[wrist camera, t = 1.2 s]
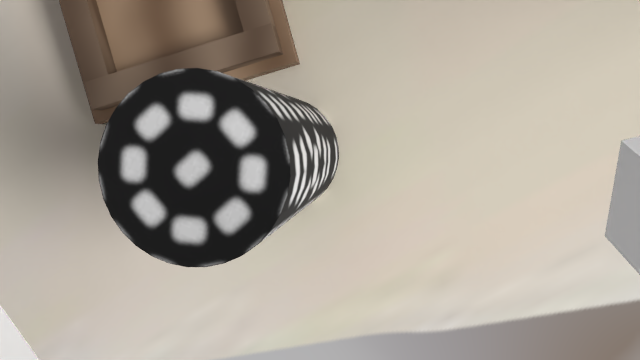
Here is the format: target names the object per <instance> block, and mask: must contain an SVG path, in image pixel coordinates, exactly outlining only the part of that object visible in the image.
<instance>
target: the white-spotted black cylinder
mask: <svg viewBox="0 0 640 360" xmlns="http://www.w3.org/2000/svg"><path fill="white" fill-rule="evenodd" d="M338 159H339V150H338V143H337V138H336V135H335V133H334V130H333V128H332V126H331V124H330V123H329V122H328V120H327V119H326V117H325V116H324V115H323V114H322V113H321V112H320V111H319V110H318V109H316V108H315V107H313V106H311V105H310V104H308V103H306V102H303V101H301V100H298V99H295V98H292V97H290V96H287V95H284V94H281V93H278V92H275V91H272V90H270V89H267V88H264V87H261V86H258V85H255V84H252V83H249V82H247V81H244V80H241V79H238V78H235V77H232V76H229V75H227V74H224V73H221V72H218V71H213V70H207V69H201V68H184V69H175V70H172V71H168V72H164V73H160V74H158V75H156V76H154V77H152V78H150V79H148V80H146V81H144V82H142V83H141V84H140V85H138V86H137V87H136V88H134V89H133V90H132V91H131V92H129V93H128V94H127V95H126V96H125V98H124V99H123V100H122V101H121V102H120V103H119V105H118V106H117V107H116V108H115V110H114V112H113V114H112V115H111V117H110V119H109V121H108V122H107V124H106V127H105V130H104V133H103V136H102V139H101V142H100V150H99V157H98V172H99V183H100V187H101V191H102V195H103V199H104V201H105V203H106V206H107V208H108V210H109V212H110V215H111V217H112V218H113V220H114V221H115V222H116V224H117V225H118V227H119V228H120V230H121V231H122V232H123V233H124V234H125V235H126V236H127V237H128V238H129V239H130V240H131V241H132V242H133V243H134V244H135V245H136V246H137V247H139V248H140V249H142V250H143V251H145V252H146V253H148V254H149V255H151V256H153V257H155V258H157V259H160V260H162V261H165V262H167V263H170V264H175V265H180V266H185V267H208V266H213V265H218V264H223V263H226V262H228V261H231V260H233V259H235V258H238V257H240V256H242V255H243V254H245V253H246V252H248V251H249V250H251V249H252V248H253V247H255V246H256V245H258V244H259V243H260V242H262V241H263V240H264V239H265V238H267V237H268V236H269V235H270V234H272V233H273V232H274V231H276V230H277V229H278V228H279V227H281V226H282V225H283V224H285V223H286V222H287V221H288V220H290V219H291V218H292V217H294V216H295V215H296V214H297V213H299V212H300V211H301V210H303V209H304V208H305V207H306V206H308V205H309V204H310V203H311V202H313V201H314V200H315V199H317V198H318V197H319V196H320V195H321V194H322V193H323V192H324V191H325V190H326V189H327V188H328V186H329V184H330V183H331V181H332V180H333V178H334V175H335V172H336V170H337V165H338Z"/></svg>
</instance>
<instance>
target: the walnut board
mask: <svg viewBox="0 0 640 360" xmlns="http://www.w3.org/2000/svg"><path fill="white" fill-rule="evenodd" d="M59 2H60V5H61V9H62V12H63V16H64V19H65V23H66V26H67V29H68V33H69V36H70V40H71V43H72V46H73V50H74V53H75V57H76V60H77V63H78V67H79V70H80V74H81V77H82V81H83V84H84V87H85V91H86V94H87V98H88V101H89V104H90V108H91V111H92V114H93V118H94V121H95V124H104V123H107V122H108V121H109V119H110V117H111V115H112V114H113V112H114V110H115V108H116V107H117V106H118V105H119V103H120V102H121V101H122V100H123V99H124V98H125V96H126V95H127V94H128V93H129V92H131V91H132V90H133V89H134V88H136V87H137V86H138V85H140V84H141V83H142V82H144V81H146V80H148V79H150V78H152V77H154V76H156V75H158V74H160V73H164V72H168V71H172V70H175V69H184V68H201V69H207V70H213V71H218V72H221V73H224V74H227V75H229V76H232V77H235V78H238V79H241V80H244V81H245V80H249V79H252V78H255V77H258V76H262V75H265V74H268V73H272V72H275V71H278V70H281V69H285V68H288V67H291V66H295V65H298V64H300V63H299V59H298V56H297V52H296V49H295V45H294V41H293V38H292V34H291V31H290V27H289V24H288V20H287V16H286V13H285V9H284V6H283V2H282V0H59Z"/></svg>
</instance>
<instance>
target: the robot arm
mask: <svg viewBox="0 0 640 360" xmlns="http://www.w3.org/2000/svg"><path fill="white" fill-rule="evenodd" d="M605 237H606V238H607V239H608V240H609V241H610V242H611V243H612V244H613V246H614V247H615V248H616V249H617V250H618V251H619V252H620V253H621V254H622V256H623V257H624V258H625V259H626V260H627V261H628V262H629V263H630V264H631V265H632V267H633V268H634V269H635V270H636V271H637V272H638V273H639V274H640V136H638V137H634V138H630V139H626V140H622V141H621V145H620V151H619V157H618V163H617V169H616V174H615V180H614V186H613V192H612V197H611V203H610V209H609V215H608V220H607V226H606V232H605ZM0 360H39V358H38V357H37V356H36V354H35V353H34V351H33V350H32V349H31V347H30V346H29V344H28V343H27V342H26V340H25V339H24V337H23V336H22V335H21V333H20V332H19V330H18V329H17V328H16V326H15V325H14V323H13V322H12V321H11V319H10V318H9V316H8V315H7V314H6V312H5V311H4V309H3V308H2V307H1V305H0Z"/></svg>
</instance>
